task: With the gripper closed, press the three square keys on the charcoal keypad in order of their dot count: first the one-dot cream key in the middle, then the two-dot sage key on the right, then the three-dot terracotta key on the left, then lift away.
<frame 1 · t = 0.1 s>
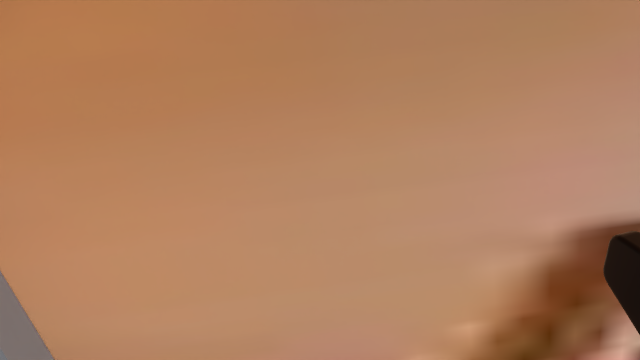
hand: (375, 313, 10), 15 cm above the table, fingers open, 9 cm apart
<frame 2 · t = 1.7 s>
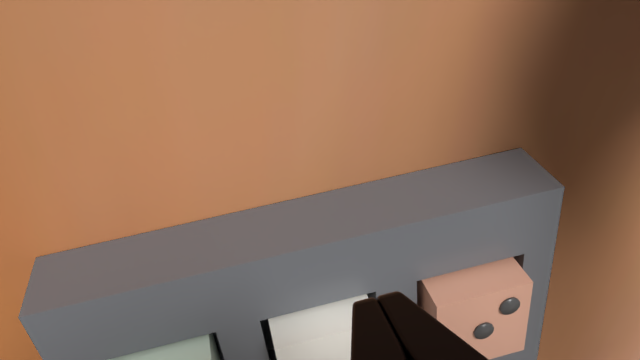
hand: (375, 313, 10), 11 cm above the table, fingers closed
key three dots: (469, 308, 23), point 3 cm above the table, slide at 0.0 cm
key one dot: (325, 346, 22), point 3 cm above the table, slide at 0.0 cm
keypad: (308, 292, 24), on the table
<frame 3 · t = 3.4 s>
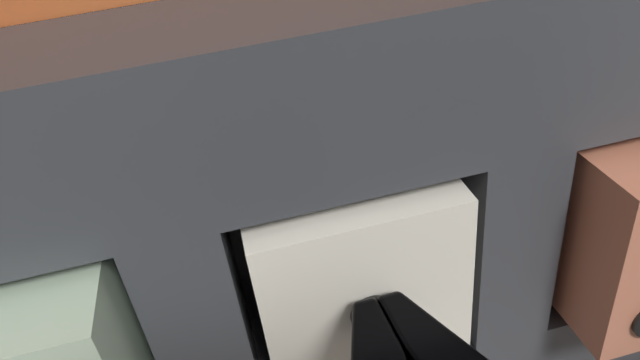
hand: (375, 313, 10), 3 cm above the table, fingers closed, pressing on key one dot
key one dot: (353, 269, 11), point 2 cm above the table, slide at 0.9 cm, touching gripper
keypad: (327, 207, 13), on the table
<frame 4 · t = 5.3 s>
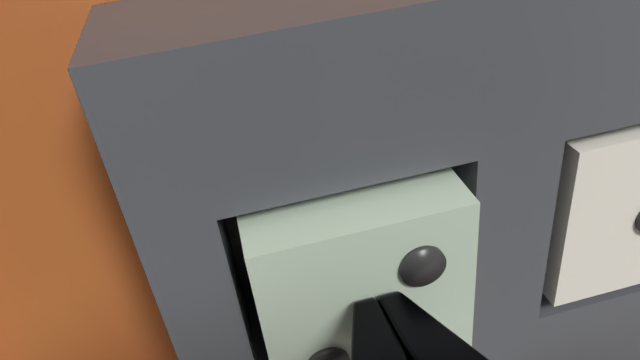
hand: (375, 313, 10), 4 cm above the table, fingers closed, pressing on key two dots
key two dots: (354, 272, 11), point 3 cm above the table, slide at 0.5 cm, touching gripper
key one dot: (614, 184, 12), point 2 cm above the table, slide at 1.2 cm
keypad: (563, 143, 14), on the table
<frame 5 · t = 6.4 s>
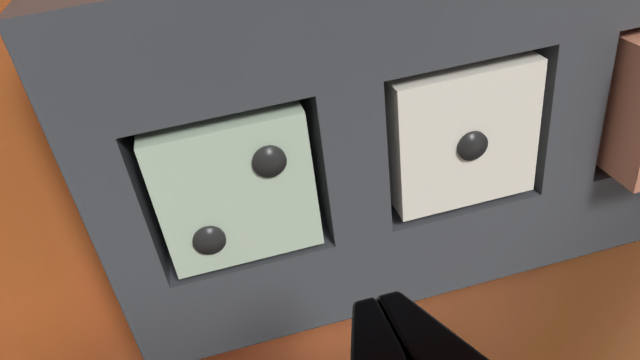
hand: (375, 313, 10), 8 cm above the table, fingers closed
key two dots: (233, 176, 14), point 2 cm above the table, slide at 1.1 cm
key one dot: (452, 125, 15), point 2 cm above the table, slide at 1.2 cm
keypad: (424, 97, 17), on the table
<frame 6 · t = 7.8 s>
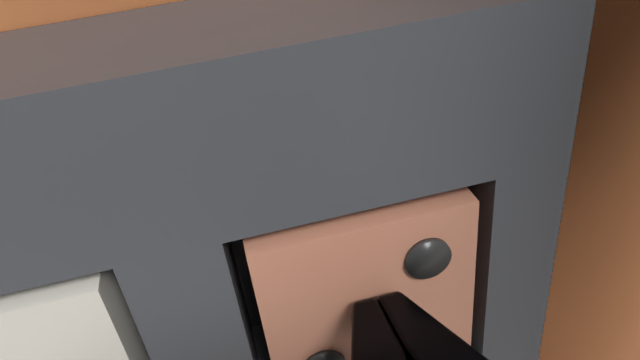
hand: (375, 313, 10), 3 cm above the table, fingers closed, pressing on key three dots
key three dots: (354, 270, 11), point 2 cm above the table, slide at 1.1 cm, touching gripper
key one dot: (29, 349, 10), point 2 cm above the table, slide at 1.2 cm
keypad: (47, 279, 12), on the table
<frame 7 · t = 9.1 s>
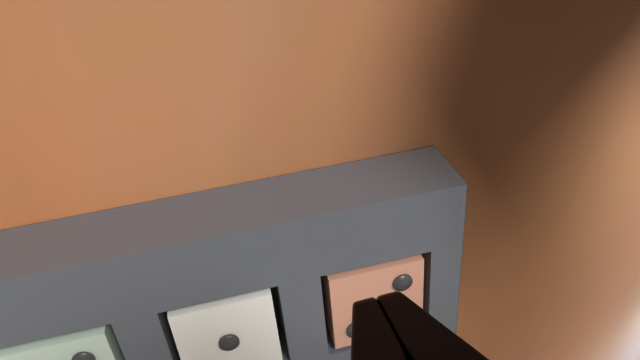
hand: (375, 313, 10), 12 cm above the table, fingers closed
key two dots: (70, 357, 22), point 2 cm above the table, slide at 1.1 cm
key three dots: (369, 286, 23), point 2 cm above the table, slide at 1.2 cm
key one dot: (226, 319, 23), point 2 cm above the table, slide at 1.2 cm
keypad: (221, 287, 24), on the table
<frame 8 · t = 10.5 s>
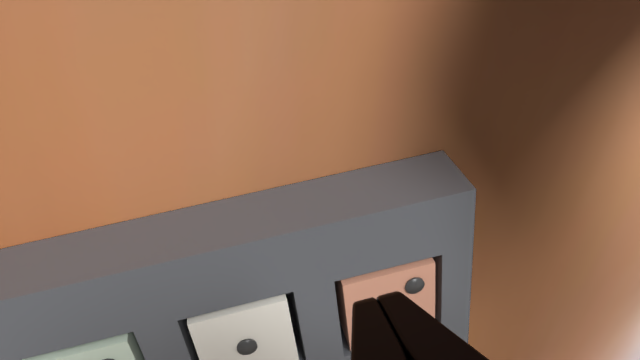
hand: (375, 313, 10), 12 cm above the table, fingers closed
key three dots: (382, 289, 24), point 2 cm above the table, slide at 1.2 cm
key one dot: (243, 324, 23), point 2 cm above the table, slide at 1.2 cm
keypad: (238, 293, 25), on the table
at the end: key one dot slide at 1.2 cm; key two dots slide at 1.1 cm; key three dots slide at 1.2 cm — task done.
